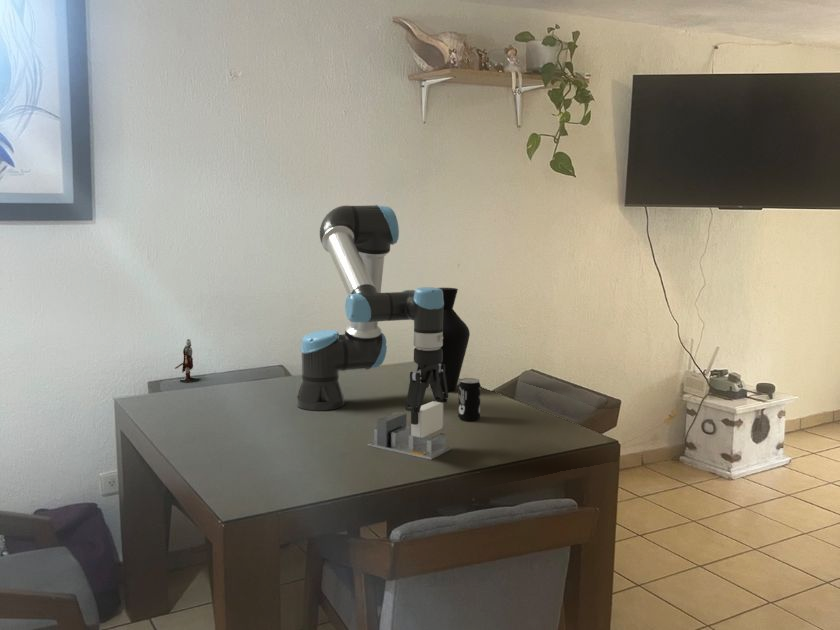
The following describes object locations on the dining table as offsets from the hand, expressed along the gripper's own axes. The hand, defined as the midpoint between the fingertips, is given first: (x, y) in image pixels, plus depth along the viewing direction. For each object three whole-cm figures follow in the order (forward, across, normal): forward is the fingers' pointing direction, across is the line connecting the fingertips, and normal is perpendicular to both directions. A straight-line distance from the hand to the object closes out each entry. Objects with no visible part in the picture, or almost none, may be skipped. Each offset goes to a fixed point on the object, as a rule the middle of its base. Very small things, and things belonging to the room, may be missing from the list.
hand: (427, 430), depth 209 cm
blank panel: (0, 0, 0) cm, 0 cm away
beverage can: (+6, +33, +6) cm, 34 cm away
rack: (+6, 0, +6) cm, 8 cm away
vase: (+5, +60, +31) cm, 68 cm away
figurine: (+5, +18, +112) cm, 113 cm away
